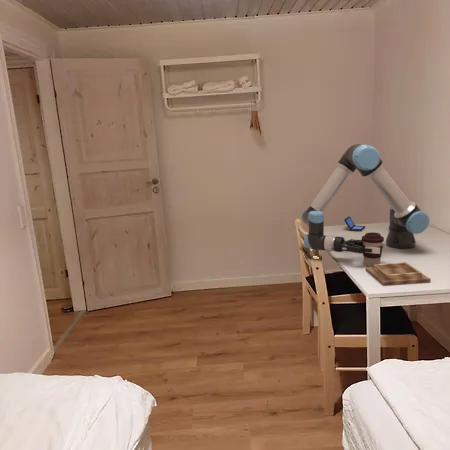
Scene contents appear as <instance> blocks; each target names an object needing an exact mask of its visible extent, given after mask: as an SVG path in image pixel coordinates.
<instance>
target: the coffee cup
mask: <svg viewBox="0 0 450 450" xmlns="http://www.w3.org/2000/svg"><path fill="white" fill-rule="evenodd" d="M361 240H362V241H363V247H377V248H380V254H375V253H365V254H362V256H363V264H364V265H365V266H368V267H373V265H375V264H381V259H382V255H383V254H382V253H383V248H382V243H384V240H385V238H384V236H382V235H381V234H380V233H379V232H366V233H365V234H364V235H363V236H361Z"/></svg>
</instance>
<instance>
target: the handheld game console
mask: <svg viewBox="0 0 450 450" xmlns="http://www.w3.org/2000/svg"><path fill="white" fill-rule="evenodd" d="M344 222H345V224H346V225H347V227H348V231H349V232H362V231H363V230H364V229H365V228H366V226H365V225H356V224H355V223H354V221H353V219H352V218H351V216H349V215H348V216H347V217H345V218H344Z"/></svg>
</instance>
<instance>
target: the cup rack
mask: <svg viewBox="0 0 450 450" xmlns="http://www.w3.org/2000/svg"><path fill="white" fill-rule="evenodd" d="M365 272H366V273H368V275H370V276H371V277H372V278H374V279H375V280H376V281H377V282H378V283H379V284H380V285H382V286H383V287H386V286H388V287H389V286H397V285H399V286H400V285H412V284H428V283H431V282H432V281H431V279H432V278H430V277H429V276H427V275H425V274H423V273H422V272H421V271H420V270H419V269H417V268H415V267H414V266H413V265H411V264H409V263H407V262H406V261H405V262H403V261H402V262H391V263H390V262H389V263H380V264H375V265H373V266H368V267H365Z"/></svg>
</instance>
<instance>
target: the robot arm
mask: <svg viewBox="0 0 450 450" xmlns="http://www.w3.org/2000/svg"><path fill="white" fill-rule="evenodd" d="M383 163H384V162H383V160H382V159H381V156H380V152H379V151H378V149H377V148H375V147H374V146H372V145H369V144H359V143H358V144H357V143H356V144H353V145H351V146H350V147H348V148H347V149H345V151H344V153H343V154H342V155H341V157H340V158H339V160H338V162H337V163H336V165H337V167H335V169H334V171H333V172H332V174H331V175H330V177H329V178H328V179H327V181H326V182H325V183H324V185H323V186H322V187H321V189H320V191H319V192H318V194H317V195H316V197H315V198H314V199H313V201H312V202H311V204H310V205H309V207H308V208H307V209H305V210H303V211H302V212H301V220H302V221H303V223H304V224H305V225H307V227H308V233H307V234H305V235H304V237H303V246H304V247H305V248H306V249H309V250H313V251H314V250H317V251H318V250H320V251H327V252H328V253H329V252H338V253H342V252H350V253H355V254H360V255H361V254H362V255H363V254H365V253H375V254H380V248H377V247H363V241H362V239H353V238H352V239H351V238H350V239H349V240H345V237H344V236H338V235H337V236H335V235H325V232H324V229H325V228H324V227H325V225H324V224H325V218H324V212H325V210H326V208H327V207H328V205H330V202H332V200H333V199H334V198H335V196H336V194H337V193H338V192H339V190H340V189H341V187H343V185H344V183H345V182H346V180H347V179H348V178H349V176H350V175H352V174H354V173H355V172H356V170H357V171H358V173H359V174H360V175H361V177H362V178H363V177H364V178H367V179H368V180H369V181H370V182H371V184H372V185H373V186H374V188H375V189H376V190H377V192H379V194H380V195H381V197H382V198H383V199H384V200H385V202H386V203H387V204H388V205H389V225H390V230H389V229H388V230H389V231H388V234H387V236H386V239H385V242H382V250H383V249H385V248H386V247H385V246H387V247H389V248H393V249H394V248H395V249H412V248H415V247H416V246H417V245H416V244H417V241H416V238H415V234H416V235H417V234H421V233H422V234H423V232H425V231H426V230H427V229H428V227H429V226H430V216H429V215H428V214H427V213H426V212H425V211H423V210H421V208H420V207H419V206H418V205H417V203H416V202H414V201H410V200H409V198H408V197H407V196H406V194H405V193H404V192H403V191H402V190H401V188H400V187H399V186H398V184H397V183H396V181H394V180H393V178H392V177H391V176H390V174H389V173H388V172H387V170H386V169H385V167H383V165H384V164H383Z"/></svg>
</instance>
